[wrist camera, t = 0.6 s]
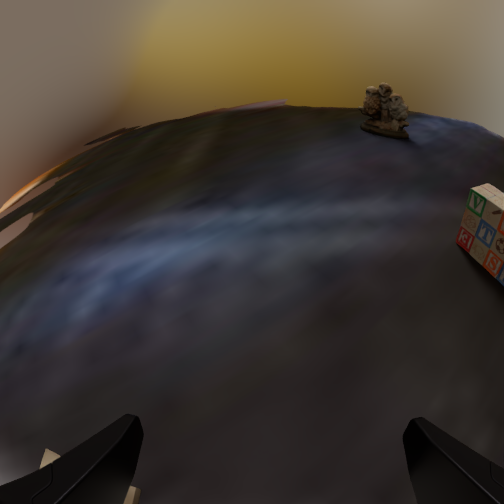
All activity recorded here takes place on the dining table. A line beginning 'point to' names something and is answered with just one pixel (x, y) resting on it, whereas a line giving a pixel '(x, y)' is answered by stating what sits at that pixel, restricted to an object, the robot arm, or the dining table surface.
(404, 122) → the owl figurine
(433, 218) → the dining table surface
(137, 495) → the base
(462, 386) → the dining table surface
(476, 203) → the stack of blocks
